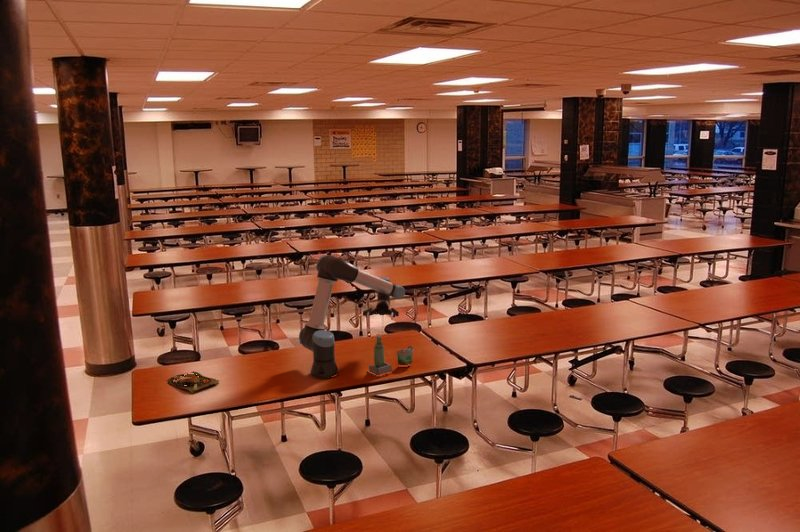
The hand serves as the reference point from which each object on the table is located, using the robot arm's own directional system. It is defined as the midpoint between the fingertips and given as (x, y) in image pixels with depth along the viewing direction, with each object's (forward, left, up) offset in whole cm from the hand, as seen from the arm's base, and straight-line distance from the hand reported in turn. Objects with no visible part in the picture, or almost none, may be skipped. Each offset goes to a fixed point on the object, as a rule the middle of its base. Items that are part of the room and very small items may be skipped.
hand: (379, 317), depth 341 cm
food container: (+5, +15, -30) cm, 34 cm away
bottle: (+4, -4, -29) cm, 30 cm away
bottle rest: (+4, -4, -30) cm, 31 cm away
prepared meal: (-45, -91, -31) cm, 106 cm away
